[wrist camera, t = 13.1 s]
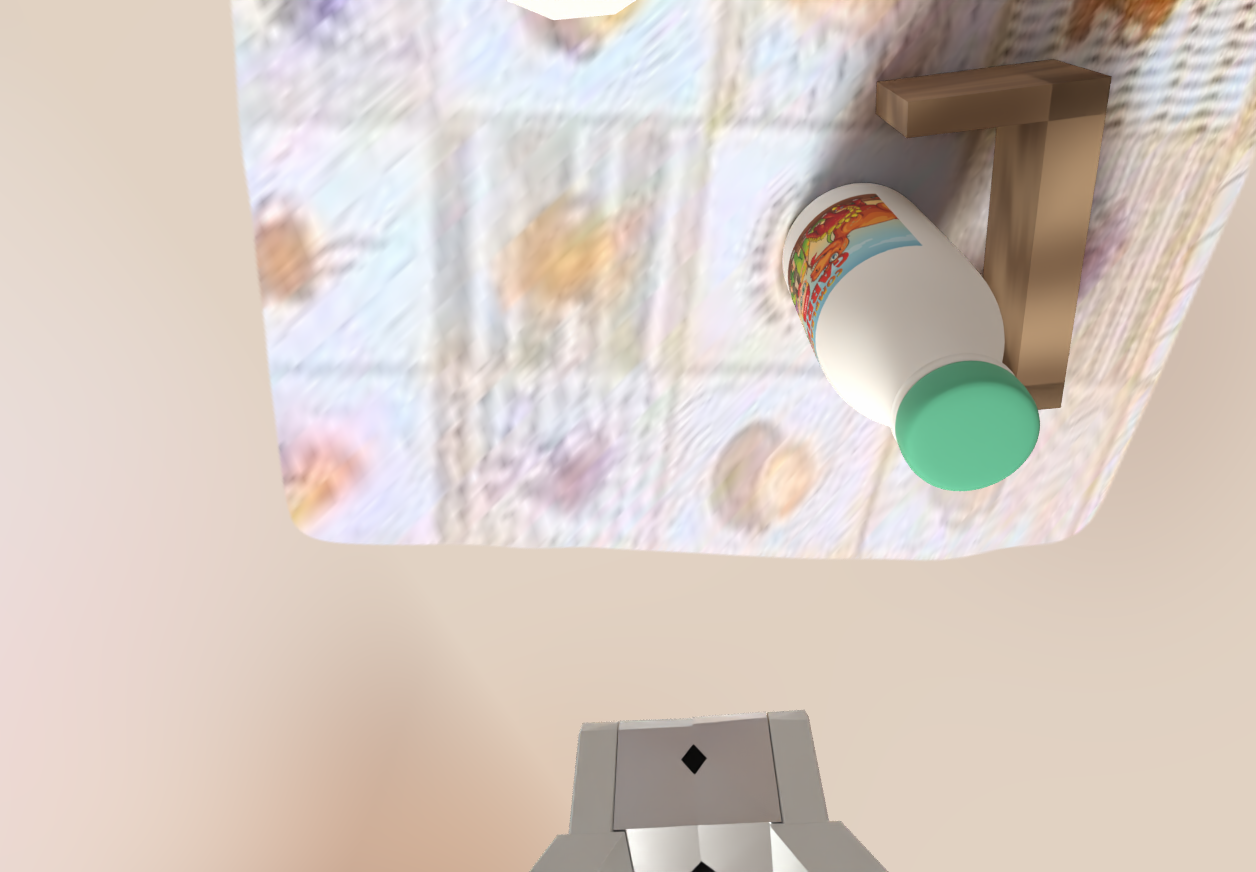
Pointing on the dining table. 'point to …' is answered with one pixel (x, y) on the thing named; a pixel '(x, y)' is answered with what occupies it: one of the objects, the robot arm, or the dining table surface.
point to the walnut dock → (1023, 192)
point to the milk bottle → (909, 335)
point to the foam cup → (573, 7)
